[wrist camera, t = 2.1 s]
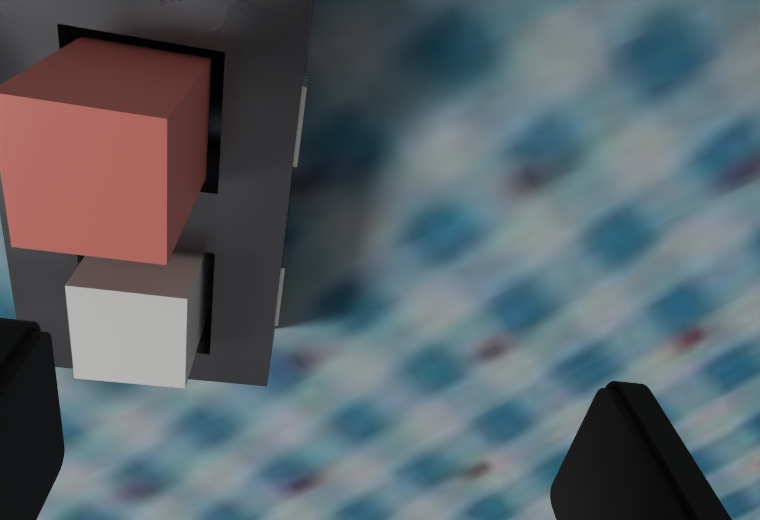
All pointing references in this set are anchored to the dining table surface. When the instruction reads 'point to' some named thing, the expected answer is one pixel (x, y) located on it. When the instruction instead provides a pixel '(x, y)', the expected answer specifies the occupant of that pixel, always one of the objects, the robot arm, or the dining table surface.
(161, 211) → the button
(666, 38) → the dining table surface
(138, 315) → the button
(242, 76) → the push button control box
